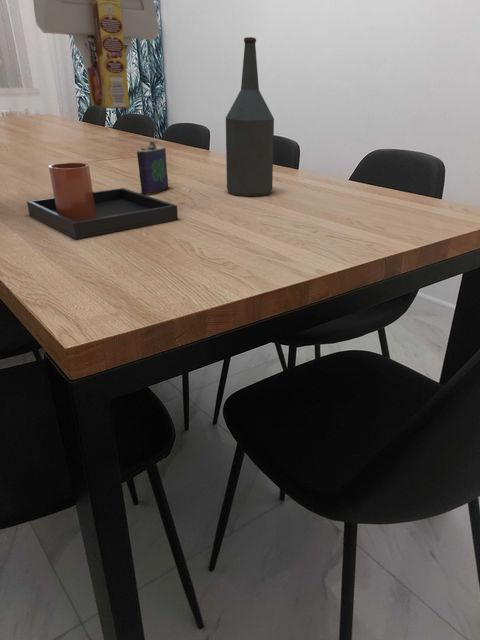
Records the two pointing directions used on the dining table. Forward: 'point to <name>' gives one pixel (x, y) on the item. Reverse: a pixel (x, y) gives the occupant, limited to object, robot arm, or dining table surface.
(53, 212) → the tray
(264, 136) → the bottle
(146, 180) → the flask
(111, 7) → the candy box
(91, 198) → the cup
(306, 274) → the dining table surface
